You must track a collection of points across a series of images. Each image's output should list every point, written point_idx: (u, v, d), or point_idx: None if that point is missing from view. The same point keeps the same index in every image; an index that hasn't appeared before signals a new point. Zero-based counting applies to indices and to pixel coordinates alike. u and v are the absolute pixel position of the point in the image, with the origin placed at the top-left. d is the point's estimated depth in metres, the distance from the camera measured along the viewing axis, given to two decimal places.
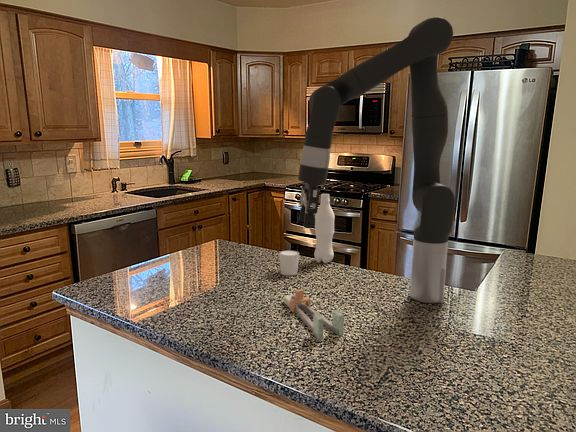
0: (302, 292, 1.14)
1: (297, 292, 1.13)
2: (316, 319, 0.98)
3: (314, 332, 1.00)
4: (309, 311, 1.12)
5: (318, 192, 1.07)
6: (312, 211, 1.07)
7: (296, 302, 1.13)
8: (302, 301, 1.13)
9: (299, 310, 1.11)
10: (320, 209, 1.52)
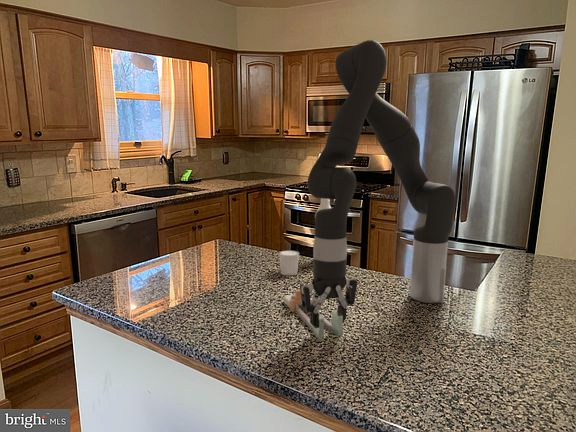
0: None
1: (297, 292, 1.13)
2: None
3: (315, 332, 1.00)
4: None
5: None
6: None
7: (296, 302, 1.13)
8: None
9: (299, 310, 1.11)
10: (320, 209, 1.52)
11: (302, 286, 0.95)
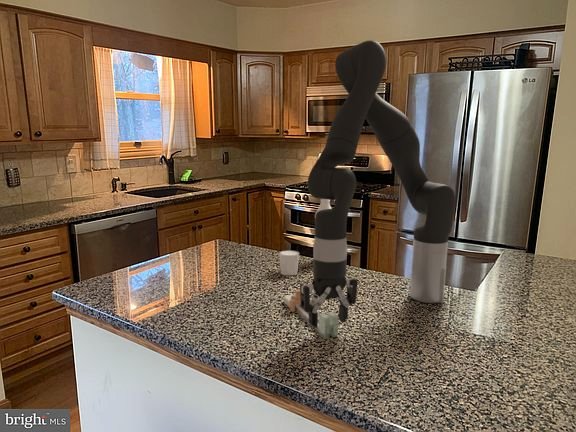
0: None
1: (297, 292, 1.13)
2: (322, 318, 0.98)
3: (320, 331, 1.00)
4: None
5: None
6: None
7: (296, 302, 1.13)
8: None
9: (301, 310, 1.11)
10: (320, 209, 1.52)
11: (302, 285, 0.95)
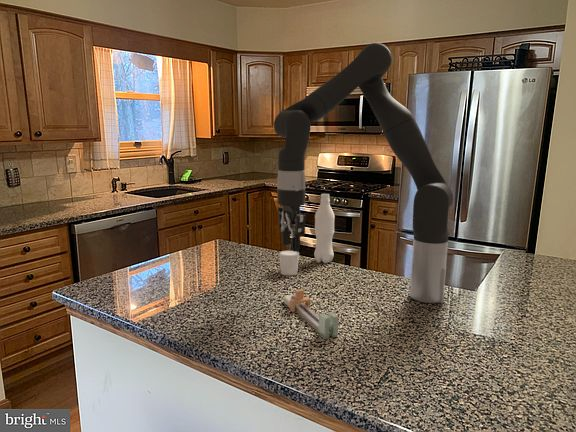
0: (302, 292, 1.14)
1: (297, 292, 1.13)
2: (322, 318, 0.98)
3: (320, 331, 1.00)
4: (307, 311, 1.11)
5: None
6: None
7: (296, 302, 1.13)
8: (302, 301, 1.13)
9: (301, 310, 1.11)
10: (320, 209, 1.52)
11: (300, 216, 1.09)
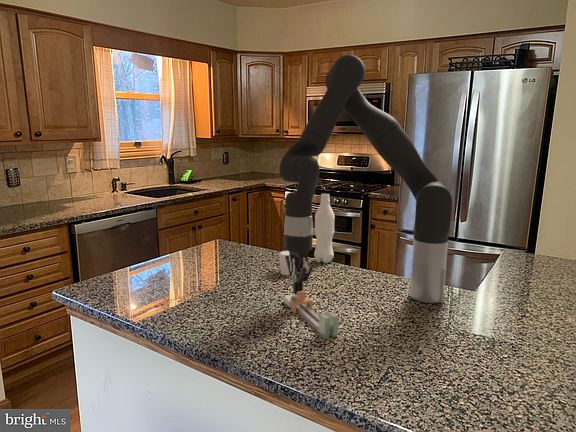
0: (303, 294, 1.13)
1: (298, 293, 1.13)
2: (322, 318, 0.98)
3: (320, 331, 1.00)
4: (307, 311, 1.11)
5: None
6: None
7: (297, 303, 1.12)
8: (303, 302, 1.13)
9: (301, 310, 1.11)
10: (320, 209, 1.52)
11: (307, 269, 1.08)
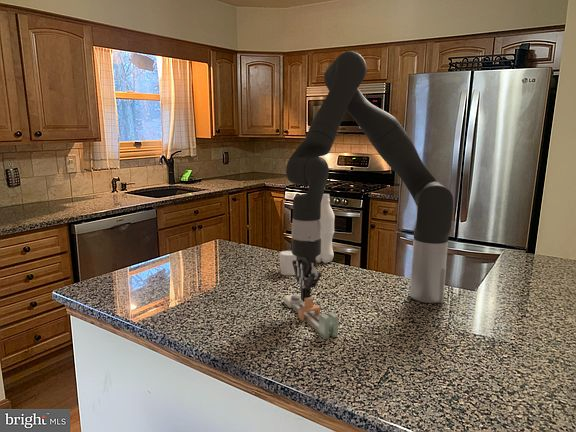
0: (311, 300, 1.09)
1: (306, 300, 1.08)
2: (322, 318, 0.98)
3: (320, 331, 1.00)
4: None
5: None
6: None
7: (305, 310, 1.07)
8: (312, 309, 1.08)
9: None
10: None
11: (315, 275, 1.04)
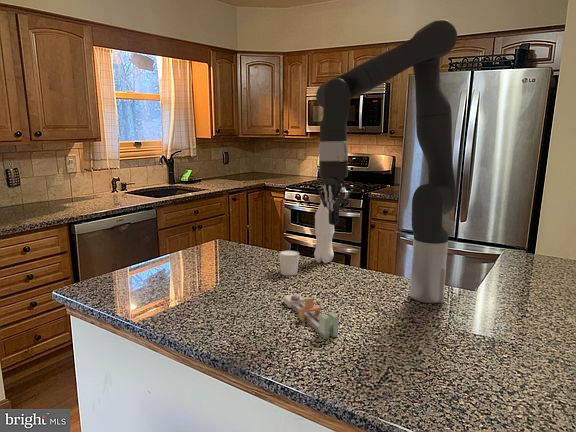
0: (312, 300, 1.09)
1: (307, 300, 1.08)
2: (322, 318, 0.98)
3: (320, 331, 1.00)
4: None
5: None
6: None
7: (306, 311, 1.07)
8: (312, 310, 1.08)
9: None
10: (320, 209, 1.52)
11: (345, 193, 1.07)
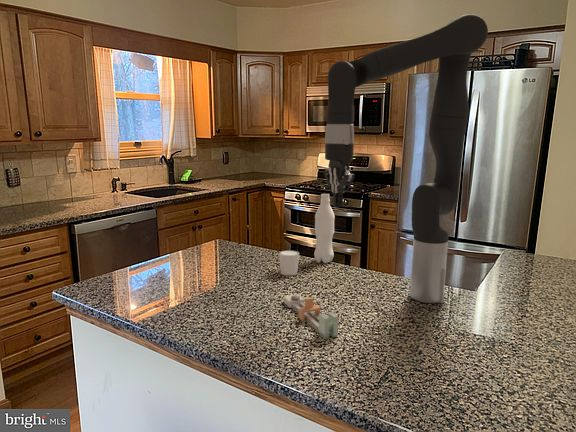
0: (312, 300, 1.09)
1: (307, 300, 1.08)
2: (322, 318, 0.98)
3: (320, 331, 1.00)
4: None
5: None
6: None
7: (306, 311, 1.07)
8: (312, 310, 1.08)
9: None
10: (320, 209, 1.52)
11: (349, 176, 1.09)
